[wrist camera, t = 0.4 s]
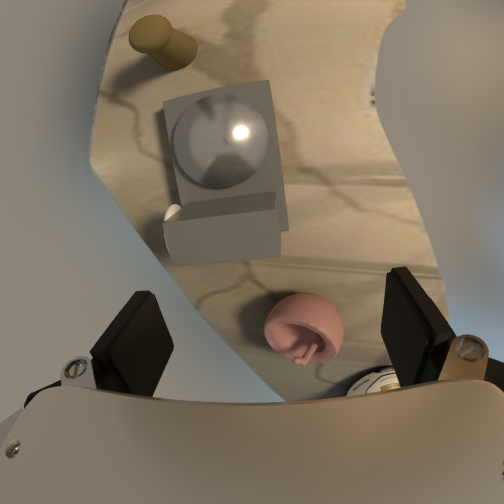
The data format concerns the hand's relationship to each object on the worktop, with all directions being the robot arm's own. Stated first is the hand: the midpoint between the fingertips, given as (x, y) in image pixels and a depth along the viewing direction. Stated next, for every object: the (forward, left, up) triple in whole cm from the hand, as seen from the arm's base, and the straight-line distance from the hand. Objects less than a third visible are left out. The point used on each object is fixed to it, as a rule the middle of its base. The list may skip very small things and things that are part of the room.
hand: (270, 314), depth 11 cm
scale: (-4, -6, -30) cm, 31 cm away
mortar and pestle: (+21, +2, -30) cm, 37 cm away
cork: (-22, -11, -30) cm, 39 cm away
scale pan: (-7, -6, -27) cm, 28 cm away
